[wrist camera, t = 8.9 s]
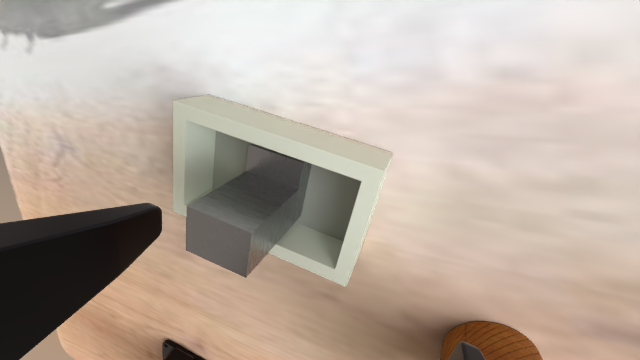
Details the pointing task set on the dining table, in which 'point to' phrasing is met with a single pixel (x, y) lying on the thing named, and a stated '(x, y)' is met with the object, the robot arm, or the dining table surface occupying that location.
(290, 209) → the grey l-shaped step block
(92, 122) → the dining table surface
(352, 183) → the pale green open box
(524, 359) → the disposable coffee cup
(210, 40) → the dining table surface
